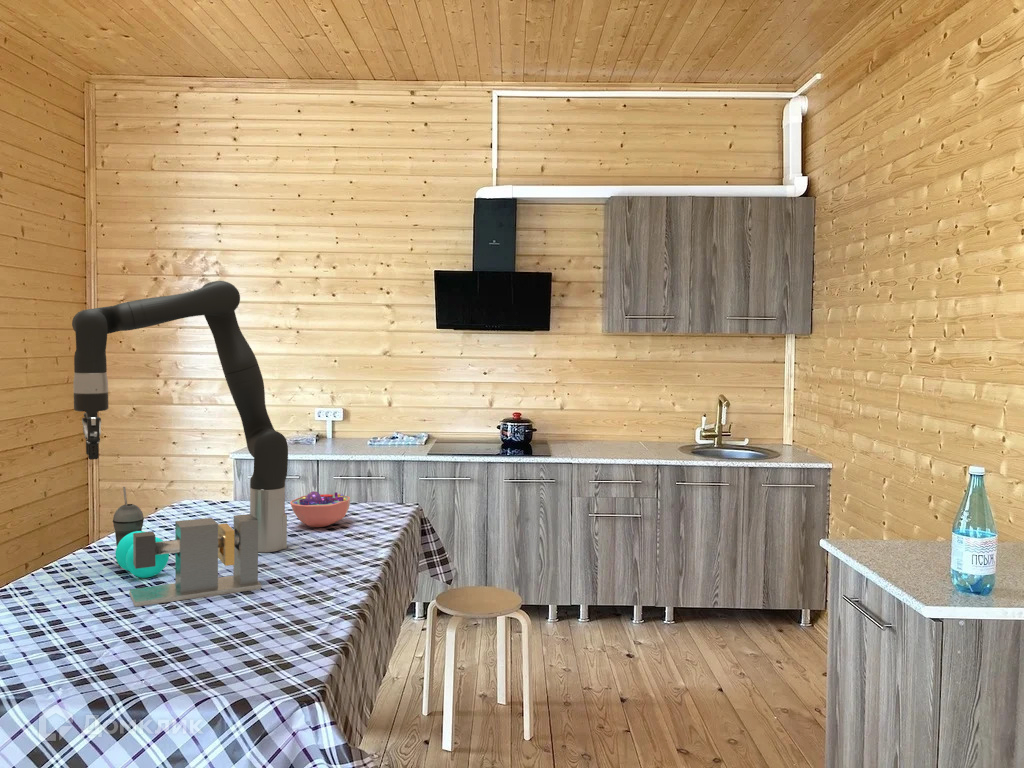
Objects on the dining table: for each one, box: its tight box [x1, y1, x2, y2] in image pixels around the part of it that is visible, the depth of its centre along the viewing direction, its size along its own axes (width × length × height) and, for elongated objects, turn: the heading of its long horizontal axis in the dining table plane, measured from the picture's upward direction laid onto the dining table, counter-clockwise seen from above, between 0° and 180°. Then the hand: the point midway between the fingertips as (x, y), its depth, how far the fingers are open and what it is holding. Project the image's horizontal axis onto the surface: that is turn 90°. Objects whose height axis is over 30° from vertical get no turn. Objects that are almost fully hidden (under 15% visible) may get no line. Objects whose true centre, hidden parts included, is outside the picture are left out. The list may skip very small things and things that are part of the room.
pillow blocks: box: [128, 513, 263, 608], centre depth 184 cm, size 27×10×16 cm, turn 122°
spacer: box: [218, 522, 234, 567], centre depth 187 cm, size 2×8×8 cm, turn 32°
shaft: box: [133, 530, 239, 569], centre depth 183 cm, size 26×4×7 cm, turn 122°
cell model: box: [289, 490, 351, 528], centre depth 250 cm, size 17×20×11 cm
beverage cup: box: [112, 486, 145, 568], centre depth 203 cm, size 7×7×20 cm
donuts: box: [114, 530, 170, 579], centre depth 196 cm, size 10×10×10 cm
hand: (92, 456), depth 196 cm, fingers open, 8 cm apart
